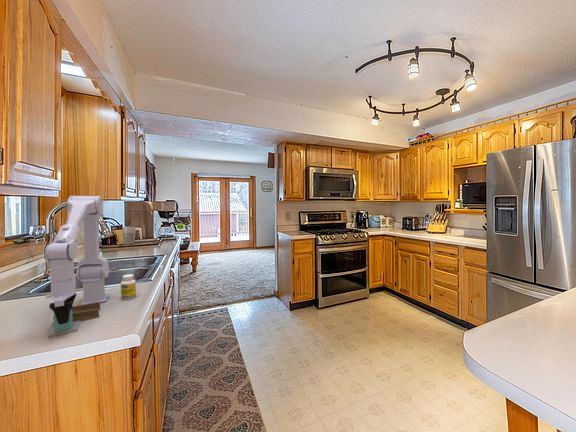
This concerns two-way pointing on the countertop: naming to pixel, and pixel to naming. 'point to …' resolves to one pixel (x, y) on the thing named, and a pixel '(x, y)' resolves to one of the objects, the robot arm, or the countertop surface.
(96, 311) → the channel
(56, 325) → the block
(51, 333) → the tile
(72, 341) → the countertop surface
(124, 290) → the supplement bottle
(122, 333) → the countertop surface
